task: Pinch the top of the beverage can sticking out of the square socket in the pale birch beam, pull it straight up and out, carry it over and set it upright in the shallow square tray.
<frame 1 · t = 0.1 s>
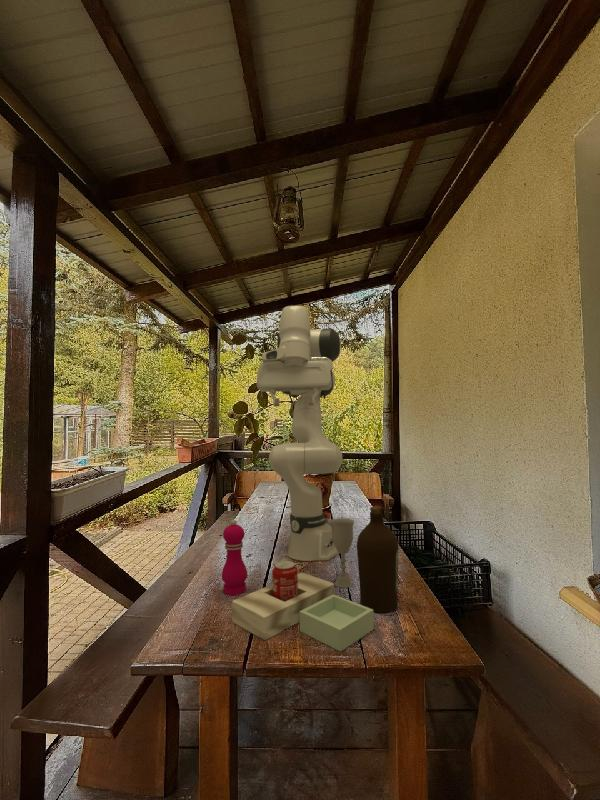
hand: (294, 405, 111), 52 cm above the table, tool tilted 20°, fingers open, 8 cm apart
olive oil: (379, 605, 109), on the table
chalice: (343, 584, 122), on the table
socket beam: (285, 612, 106), on the table
shallow square tray: (336, 630, 97), on the table
beverage can: (285, 613, 106), resting in socket beam
pepper mill: (234, 591, 119), on the table
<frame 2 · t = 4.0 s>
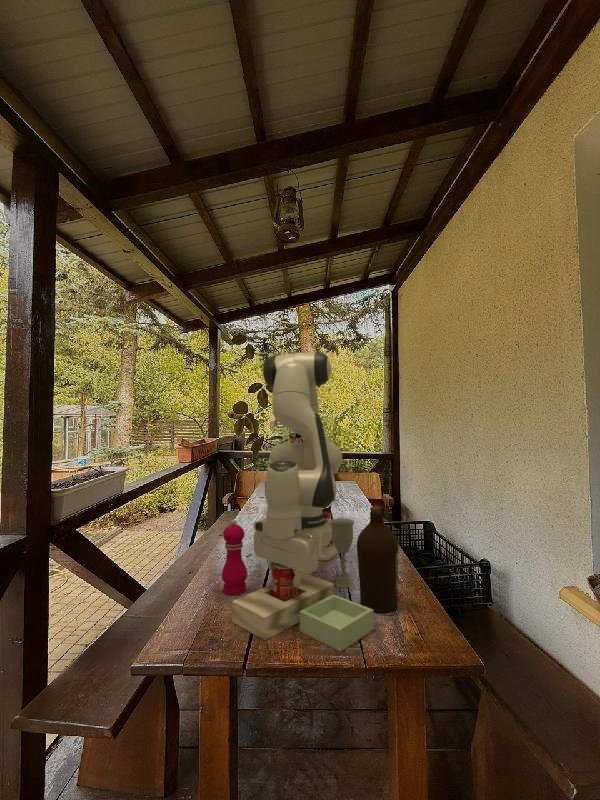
hand: (285, 581, 106), 8 cm above the table, tool pointing down, fingers closed on beverage can, 6 cm apart
beverage can: (285, 613, 106), resting in socket beam, touching gripper
everything else where it was.
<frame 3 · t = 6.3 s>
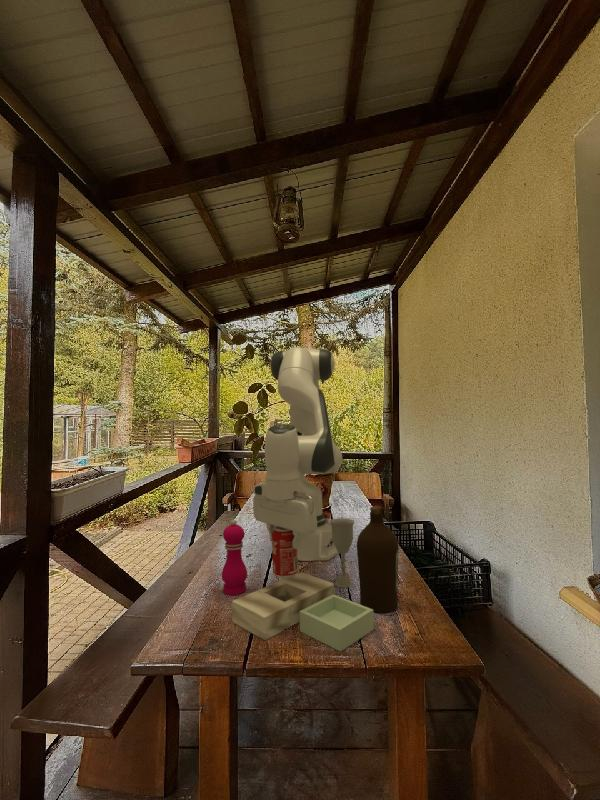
hand: (284, 544, 106), 17 cm above the table, tool pointing down, fingers closed on beverage can, 6 cm apart
beverage can: (285, 575, 106), point 9 cm above the table, touching gripper
everything else where it was.
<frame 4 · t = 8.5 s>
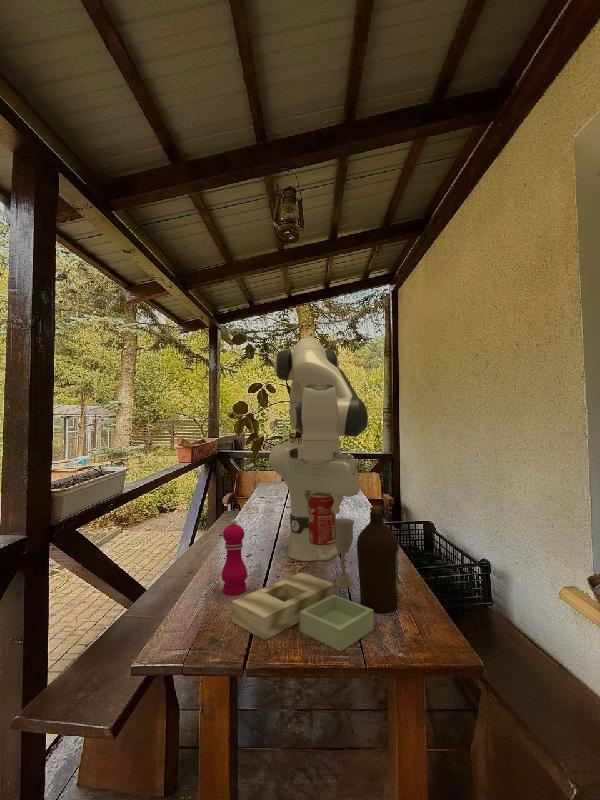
hand: (322, 511, 99), 27 cm above the table, tool pointing down, fingers closed on beverage can, 6 cm apart
beverage can: (323, 546, 98), point 19 cm above the table, touching gripper
everything else where it was.
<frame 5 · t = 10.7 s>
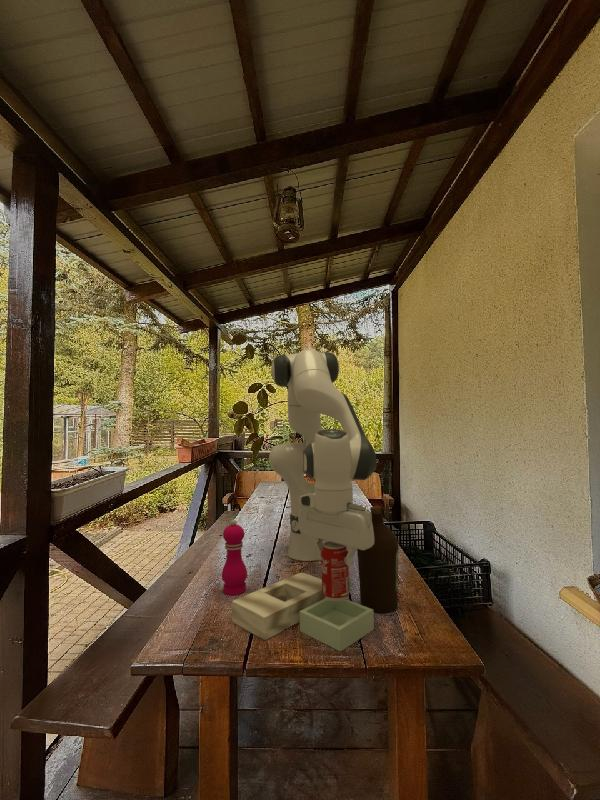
hand: (335, 560, 97), 16 cm above the table, tool pointing down, fingers closed on beverage can, 6 cm apart
beverage can: (336, 597, 97), point 7 cm above the table, touching gripper
everything else where it was.
when the fingers open (10 cm above the table, at t = 12.8 s): beverage can stays where it is, resting on shallow square tray.
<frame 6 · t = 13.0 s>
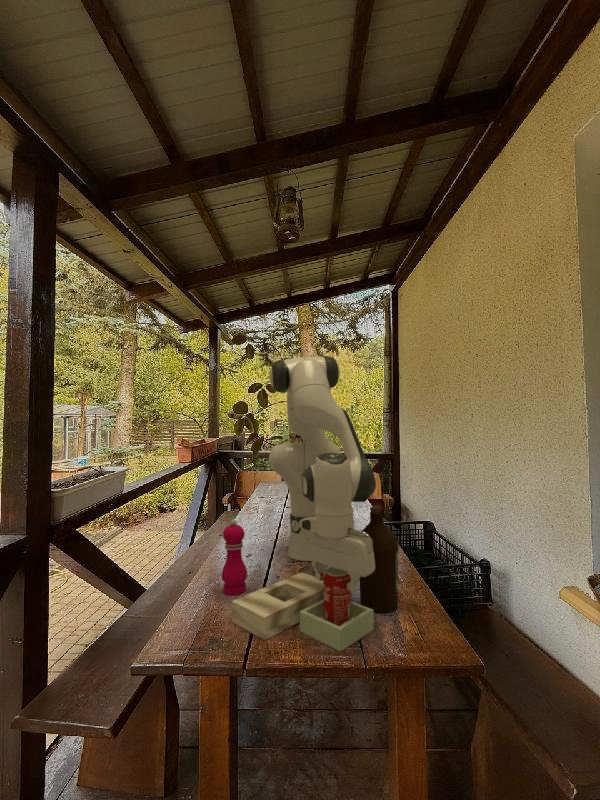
hand: (335, 585, 97), 10 cm above the table, tool pointing down, fingers open, 8 cm apart
beverage can: (337, 624, 97), point 1 cm above the table, touching shallow square tray
everything else where it was.
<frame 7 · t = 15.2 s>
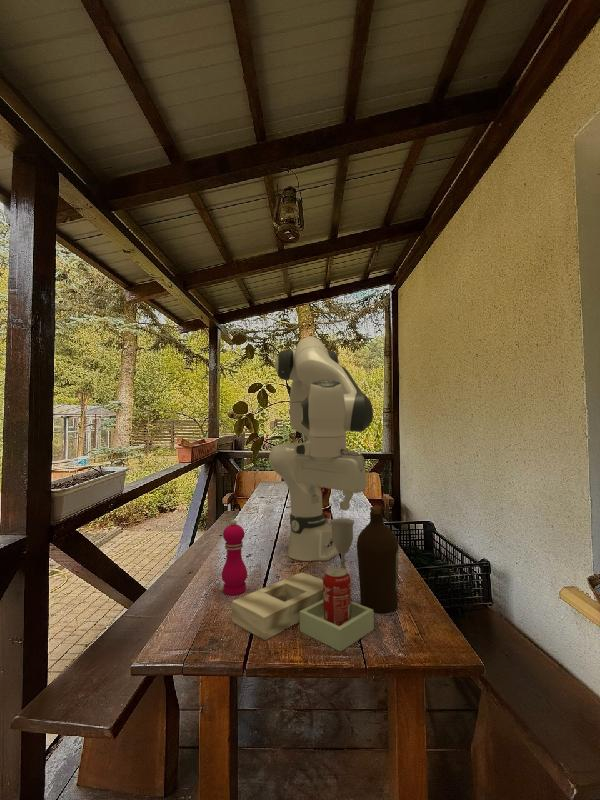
hand: (329, 506, 100), 28 cm above the table, tool pointing down, fingers open, 8 cm apart
nothing on the table moved.
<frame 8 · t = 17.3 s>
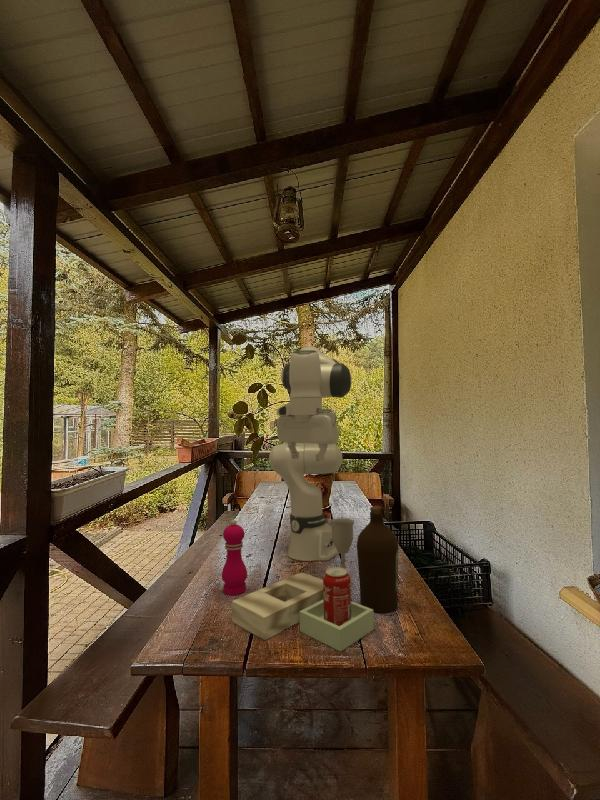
hand: (307, 459, 114), 37 cm above the table, tool pointing down, fingers open, 8 cm apart
nothing on the table moved.
at the end: beverage can 0.2 cm off-centre on the shallow square tray, point 1.3 cm above the shallow square tray's base; beverage can tilted 0°; the gripper is holding nothing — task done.
